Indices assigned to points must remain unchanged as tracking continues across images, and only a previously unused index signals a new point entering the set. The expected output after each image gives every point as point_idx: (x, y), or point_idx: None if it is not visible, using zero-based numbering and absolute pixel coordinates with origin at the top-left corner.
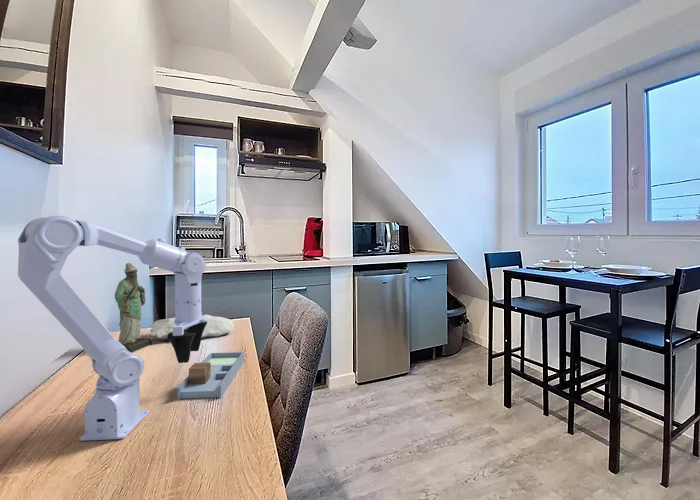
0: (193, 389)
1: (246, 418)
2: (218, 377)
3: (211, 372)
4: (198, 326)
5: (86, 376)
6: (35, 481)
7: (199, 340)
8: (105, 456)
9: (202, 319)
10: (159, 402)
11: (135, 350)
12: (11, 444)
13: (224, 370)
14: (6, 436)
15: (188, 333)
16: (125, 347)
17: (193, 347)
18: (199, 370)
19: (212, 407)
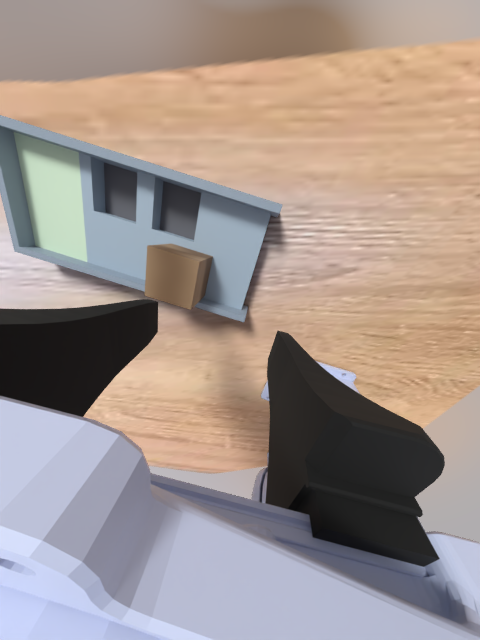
0: (237, 283)
1: (446, 120)
2: (158, 221)
3: (141, 242)
4: (25, 372)
5: None
6: None
7: (122, 312)
8: (389, 384)
9: (91, 597)
10: (244, 339)
11: None
12: None
13: (105, 205)
14: (267, 465)
15: (345, 472)
16: None
17: (148, 325)
18: (198, 278)
19: (320, 231)
